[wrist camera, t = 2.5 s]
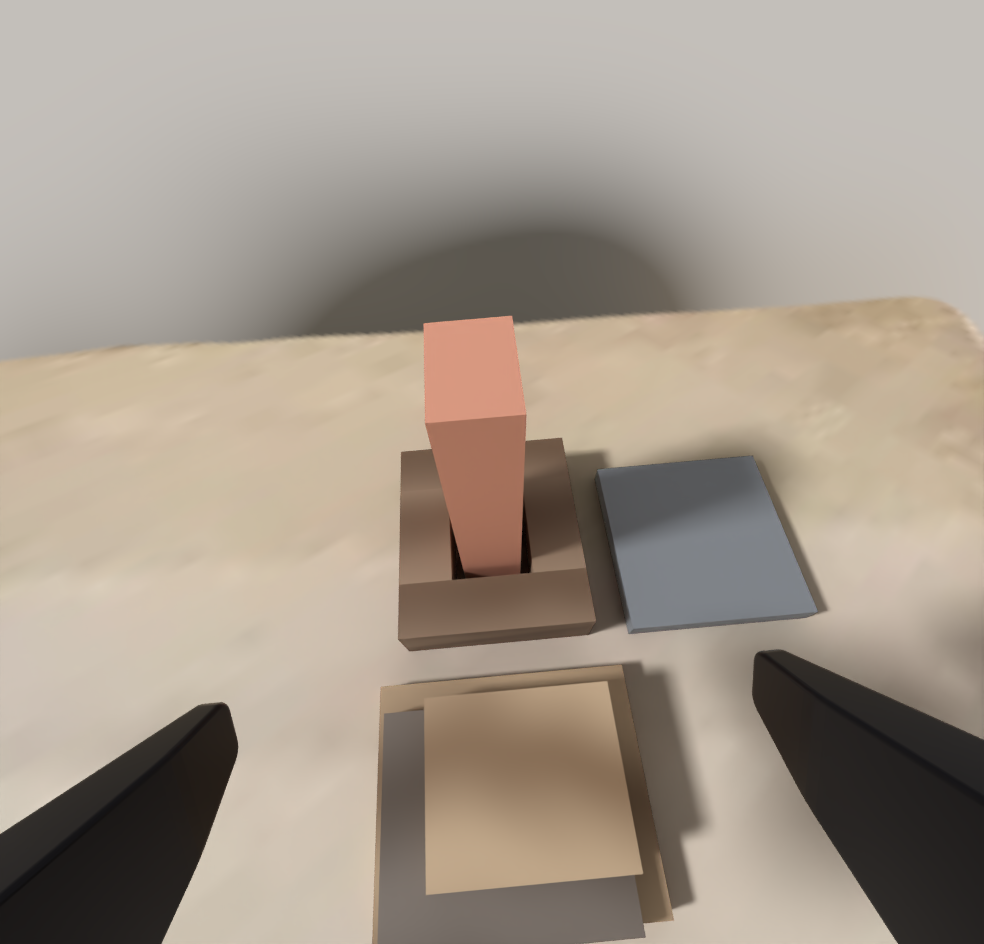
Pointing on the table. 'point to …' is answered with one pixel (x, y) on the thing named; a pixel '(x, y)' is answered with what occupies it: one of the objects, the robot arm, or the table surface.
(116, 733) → the table surface
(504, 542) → the pink bar
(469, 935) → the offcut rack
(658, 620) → the grey mat
